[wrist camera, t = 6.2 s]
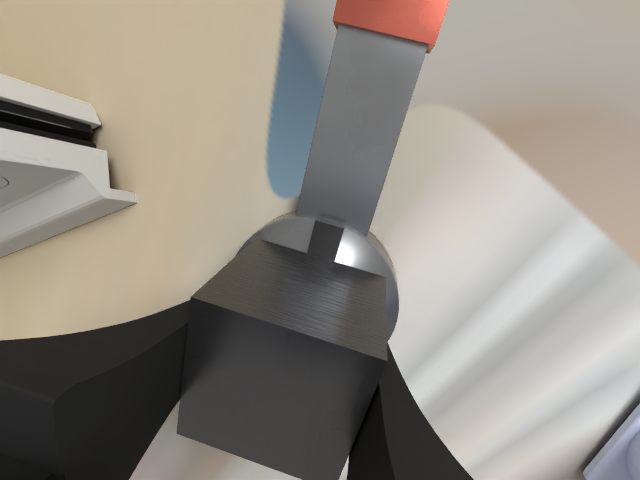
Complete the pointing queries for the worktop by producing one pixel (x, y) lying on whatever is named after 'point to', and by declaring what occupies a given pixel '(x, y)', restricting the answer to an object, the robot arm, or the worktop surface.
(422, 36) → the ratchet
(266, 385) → the brushed grey cube
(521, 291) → the worktop surface
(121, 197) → the white electronic device
